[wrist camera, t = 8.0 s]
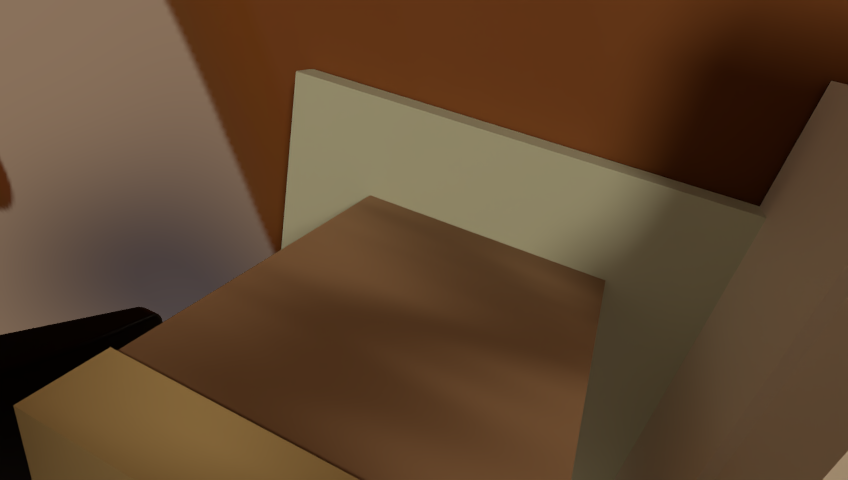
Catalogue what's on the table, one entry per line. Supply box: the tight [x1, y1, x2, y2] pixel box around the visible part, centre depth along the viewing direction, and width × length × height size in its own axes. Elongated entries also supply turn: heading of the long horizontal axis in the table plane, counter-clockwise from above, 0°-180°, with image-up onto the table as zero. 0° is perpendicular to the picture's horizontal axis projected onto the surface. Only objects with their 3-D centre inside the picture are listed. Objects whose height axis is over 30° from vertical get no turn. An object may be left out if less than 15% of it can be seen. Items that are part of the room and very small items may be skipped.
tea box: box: [13, 195, 606, 480], centre depth 8 cm, size 5×5×7 cm
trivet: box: [281, 69, 766, 480], centre depth 11 cm, size 9×9×1 cm
